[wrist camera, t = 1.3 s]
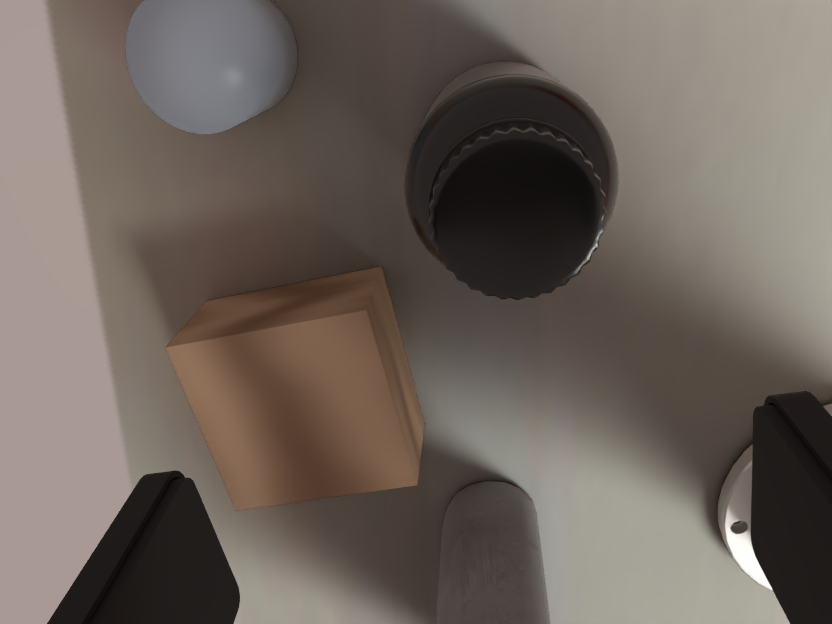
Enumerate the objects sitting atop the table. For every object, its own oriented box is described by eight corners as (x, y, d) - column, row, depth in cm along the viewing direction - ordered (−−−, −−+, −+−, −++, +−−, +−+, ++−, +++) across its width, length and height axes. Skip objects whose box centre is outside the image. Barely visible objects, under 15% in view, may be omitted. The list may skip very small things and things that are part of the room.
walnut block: (381, 266, 32) (366, 310, 27) (424, 423, 35) (417, 485, 31) (207, 300, 33) (164, 347, 29) (265, 448, 37) (235, 510, 32)
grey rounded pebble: (276, -28, 27) (236, -34, 22) (312, 99, 29) (282, 117, 24) (163, 4, 28) (102, 4, 23) (205, 125, 30) (157, 147, 25)
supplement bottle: (611, 161, 29) (694, 257, 18) (478, 246, 31) (480, 377, 20) (526, 20, 27) (562, 31, 16) (390, 121, 29) (339, 192, 18)
